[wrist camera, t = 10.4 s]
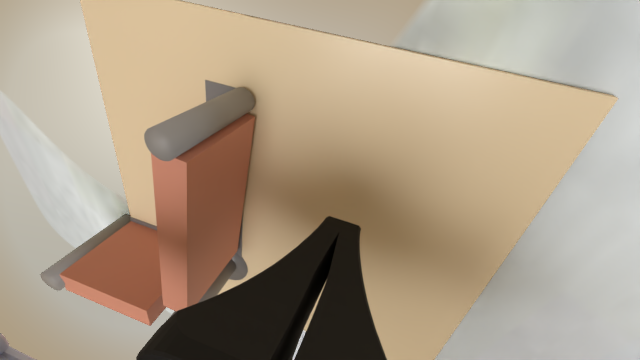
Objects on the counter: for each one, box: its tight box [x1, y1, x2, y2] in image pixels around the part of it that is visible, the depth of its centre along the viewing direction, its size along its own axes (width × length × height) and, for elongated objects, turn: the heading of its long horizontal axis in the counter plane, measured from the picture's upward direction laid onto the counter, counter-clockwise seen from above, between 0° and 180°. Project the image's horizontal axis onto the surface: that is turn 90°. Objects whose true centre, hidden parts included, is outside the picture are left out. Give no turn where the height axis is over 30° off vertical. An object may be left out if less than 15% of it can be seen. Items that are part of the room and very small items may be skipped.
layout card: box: [80, 0, 618, 360], centre depth 15 cm, size 19×16×1 cm
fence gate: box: [144, 87, 255, 311], centre depth 12 cm, size 9×1×4 cm, turn 166°
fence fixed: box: [41, 215, 236, 326], centre depth 17 cm, size 8×1×5 cm, turn 81°
